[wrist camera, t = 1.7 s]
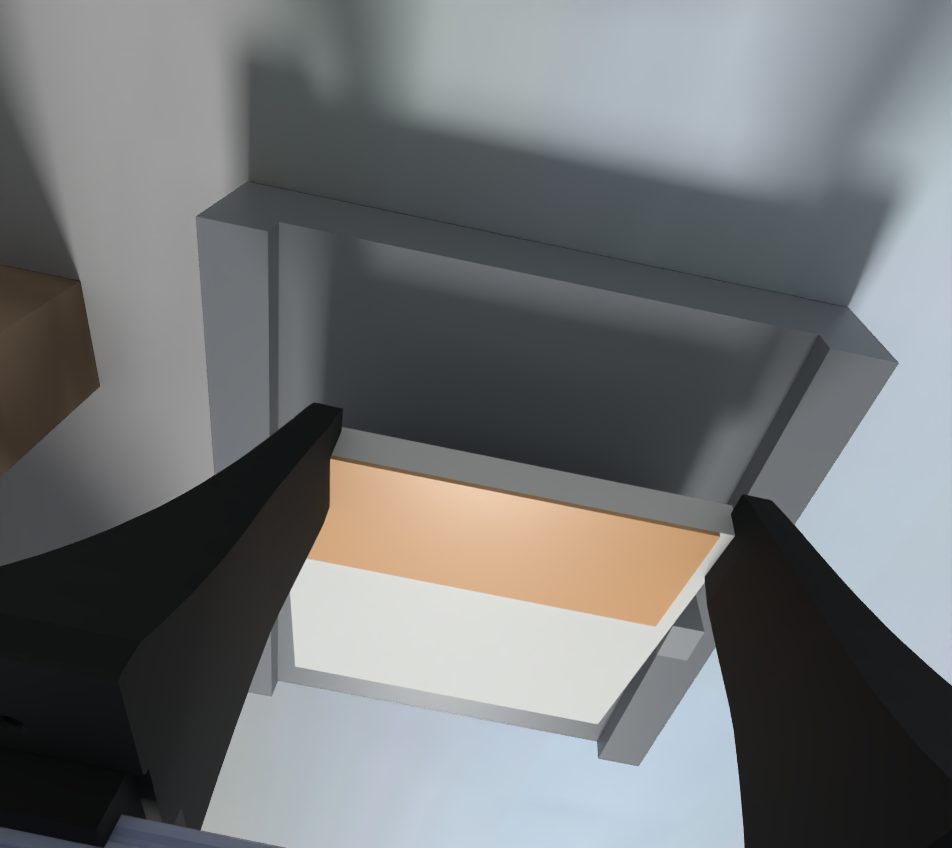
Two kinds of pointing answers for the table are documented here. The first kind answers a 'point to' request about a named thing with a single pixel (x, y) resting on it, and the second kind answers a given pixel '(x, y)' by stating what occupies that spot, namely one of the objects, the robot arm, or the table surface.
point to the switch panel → (524, 385)
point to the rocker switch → (495, 576)
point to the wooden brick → (40, 358)
